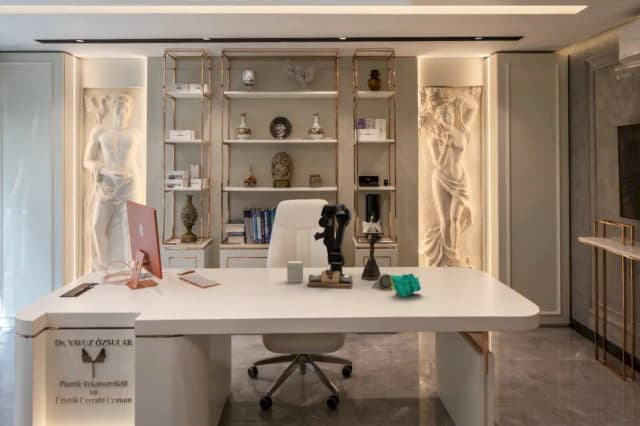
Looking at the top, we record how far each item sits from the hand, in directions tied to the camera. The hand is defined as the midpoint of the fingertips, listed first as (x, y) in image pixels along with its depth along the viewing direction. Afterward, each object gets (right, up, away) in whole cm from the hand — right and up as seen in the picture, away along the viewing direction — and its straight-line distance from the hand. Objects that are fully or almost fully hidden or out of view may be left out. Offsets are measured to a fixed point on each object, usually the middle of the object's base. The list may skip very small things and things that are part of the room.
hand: (328, 256), depth 265 cm
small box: (-18, -13, -3) cm, 23 cm away
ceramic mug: (+27, -15, -17) cm, 35 cm away
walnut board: (+1, -14, -12) cm, 18 cm away
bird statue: (+24, -13, +3) cm, 28 cm away
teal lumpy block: (+36, -16, -34) cm, 51 cm away
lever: (+1, -10, -13) cm, 16 cm away
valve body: (+1, -12, -12) cm, 17 cm away
